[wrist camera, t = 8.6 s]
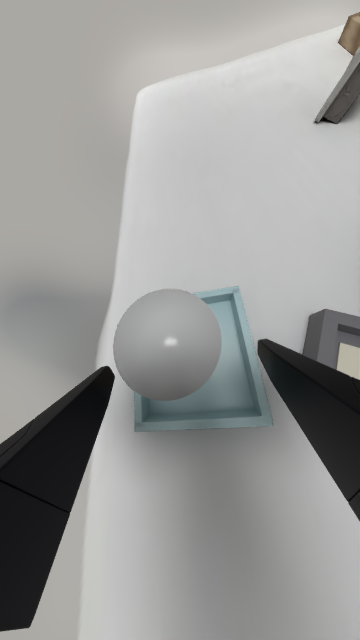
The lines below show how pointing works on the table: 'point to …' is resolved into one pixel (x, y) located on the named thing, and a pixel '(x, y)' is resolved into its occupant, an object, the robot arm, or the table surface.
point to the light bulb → (167, 344)
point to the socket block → (334, 341)
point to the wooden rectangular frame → (351, 34)
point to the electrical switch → (343, 92)
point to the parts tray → (216, 380)
